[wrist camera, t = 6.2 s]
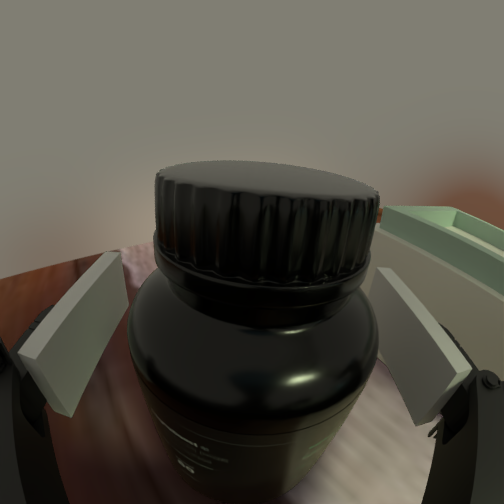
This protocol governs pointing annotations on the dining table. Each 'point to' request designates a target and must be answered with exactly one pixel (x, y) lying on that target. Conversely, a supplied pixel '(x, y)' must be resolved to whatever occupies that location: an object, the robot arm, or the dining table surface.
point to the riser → (448, 273)
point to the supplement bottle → (254, 321)
